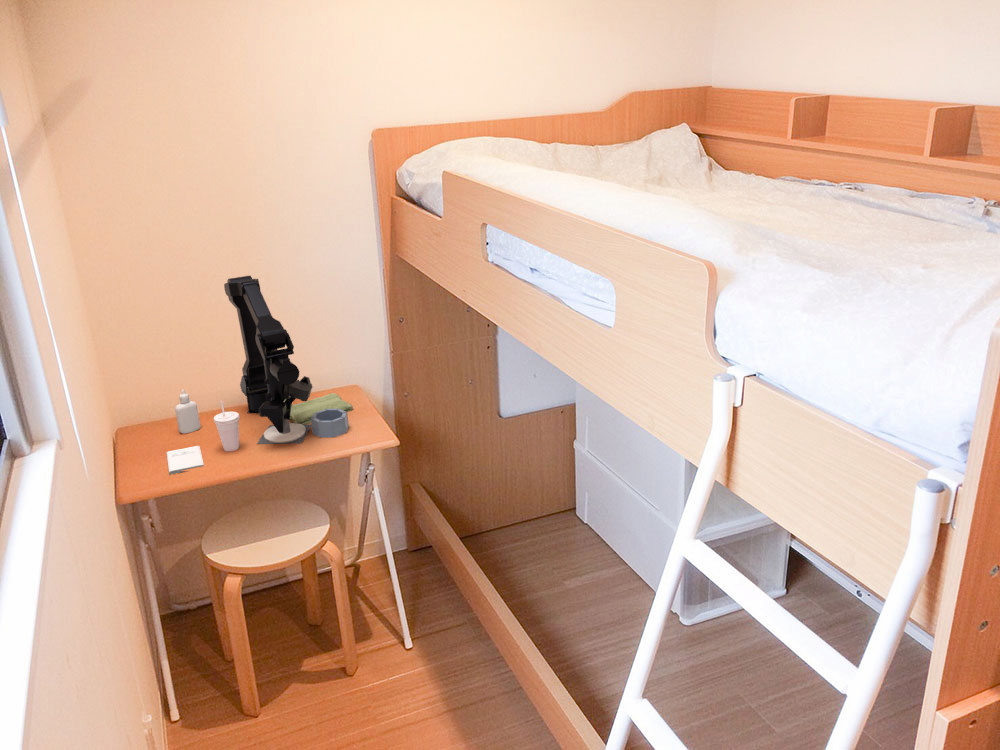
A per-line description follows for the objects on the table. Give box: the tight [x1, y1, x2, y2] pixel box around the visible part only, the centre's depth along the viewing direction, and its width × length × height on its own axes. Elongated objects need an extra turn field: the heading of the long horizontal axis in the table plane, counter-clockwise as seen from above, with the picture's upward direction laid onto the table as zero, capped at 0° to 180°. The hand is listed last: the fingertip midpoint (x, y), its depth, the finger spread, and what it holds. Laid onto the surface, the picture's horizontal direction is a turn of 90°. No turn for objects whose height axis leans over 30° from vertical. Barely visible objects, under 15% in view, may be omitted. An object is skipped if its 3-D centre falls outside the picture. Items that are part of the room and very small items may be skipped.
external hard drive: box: [166, 445, 205, 476], centre depth 204 cm, size 2×8×12 cm
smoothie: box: [213, 400, 241, 452], centre depth 207 cm, size 6×6×14 cm
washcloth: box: [290, 392, 354, 425], centre depth 230 cm, size 13×18×3 cm
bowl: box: [310, 409, 349, 439], centre depth 217 cm, size 9×9×5 cm
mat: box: [256, 423, 312, 445], centre depth 216 cm, size 12×12×1 cm
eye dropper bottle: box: [174, 389, 202, 435], centre depth 220 cm, size 4×6×12 cm
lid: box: [263, 419, 306, 443], centre depth 216 cm, size 11×11×4 cm
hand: (284, 427), depth 216 cm, fingers open, 6 cm apart
